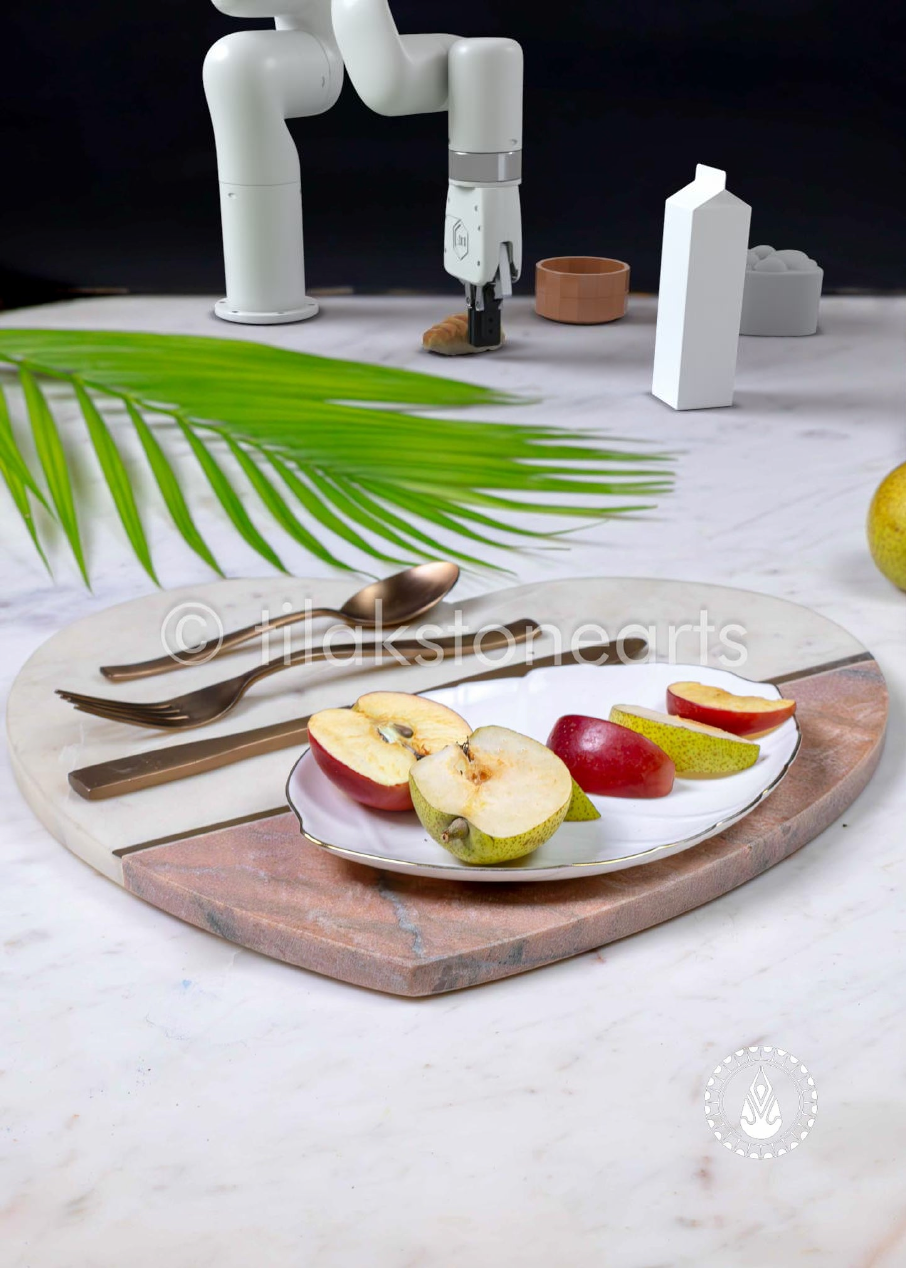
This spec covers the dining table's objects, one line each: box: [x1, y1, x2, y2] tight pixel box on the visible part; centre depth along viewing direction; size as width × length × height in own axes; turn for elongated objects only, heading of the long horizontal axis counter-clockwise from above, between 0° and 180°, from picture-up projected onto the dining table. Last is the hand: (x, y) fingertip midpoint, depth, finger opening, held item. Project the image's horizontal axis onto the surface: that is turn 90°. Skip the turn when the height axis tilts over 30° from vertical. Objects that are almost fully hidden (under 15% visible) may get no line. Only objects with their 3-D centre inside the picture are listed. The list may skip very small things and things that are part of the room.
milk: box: [651, 163, 752, 411], centre depth 130 cm, size 6×6×22 cm
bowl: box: [533, 256, 631, 325], centre depth 166 cm, size 11×11×6 cm
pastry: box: [421, 312, 506, 356], centre depth 151 cm, size 9×7×4 cm
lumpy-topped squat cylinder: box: [739, 244, 824, 337], centre depth 161 cm, size 10×13×9 cm
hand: (484, 344), depth 148 cm, fingers closed
